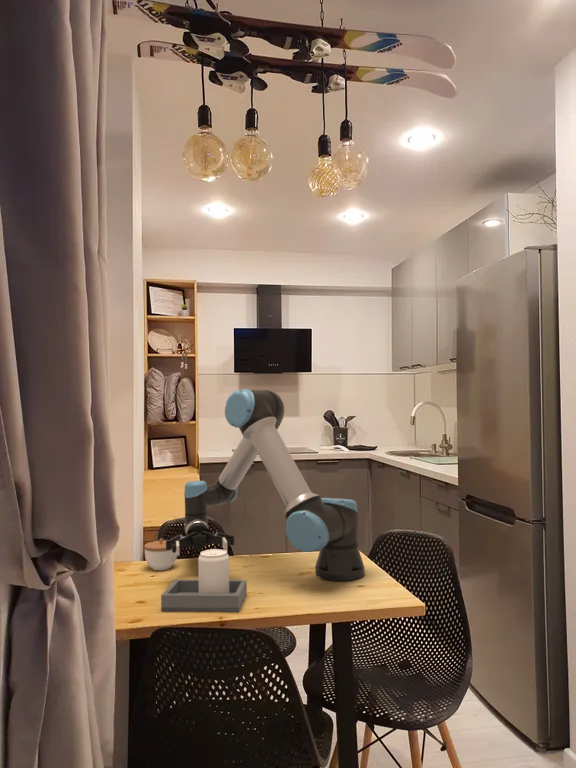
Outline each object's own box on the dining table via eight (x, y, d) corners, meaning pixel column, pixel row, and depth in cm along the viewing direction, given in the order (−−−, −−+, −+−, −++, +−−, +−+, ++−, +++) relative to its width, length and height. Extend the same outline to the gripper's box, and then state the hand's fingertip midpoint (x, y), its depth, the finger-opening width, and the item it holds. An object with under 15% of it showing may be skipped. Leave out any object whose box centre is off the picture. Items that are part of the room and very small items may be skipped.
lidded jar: (185, 566, 181) (184, 537, 181) (161, 574, 172) (161, 544, 172) (161, 561, 186) (161, 534, 187) (137, 569, 177) (137, 540, 178)
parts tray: (246, 594, 151) (246, 579, 151) (238, 611, 138) (238, 595, 138) (175, 594, 153) (175, 579, 153) (161, 611, 140) (161, 595, 140)
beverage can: (223, 604, 141) (222, 557, 142) (193, 602, 143) (193, 555, 143) (233, 594, 149) (233, 549, 149) (205, 592, 151) (205, 548, 151)
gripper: (236, 542, 180) (245, 558, 159) (158, 548, 174) (157, 566, 154) (236, 519, 180) (245, 532, 159) (158, 524, 175) (157, 538, 154)
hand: (202, 548), depth 156 cm, fingers open, 13 cm apart
